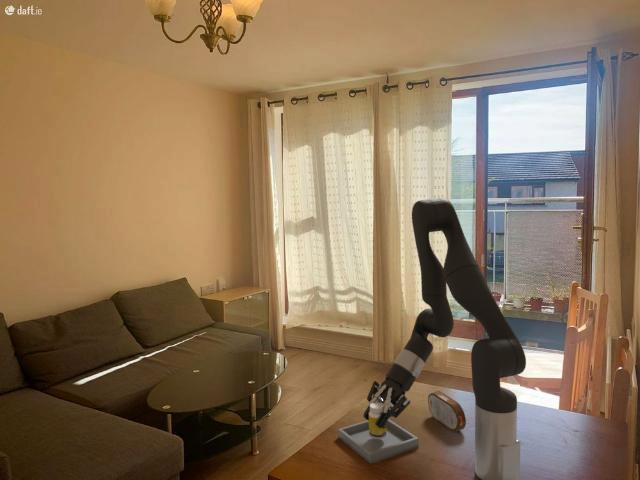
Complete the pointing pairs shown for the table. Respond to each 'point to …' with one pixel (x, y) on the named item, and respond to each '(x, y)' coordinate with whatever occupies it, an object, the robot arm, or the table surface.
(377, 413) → the supplement bottle
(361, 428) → the tray
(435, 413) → the tin
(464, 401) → the table surface
